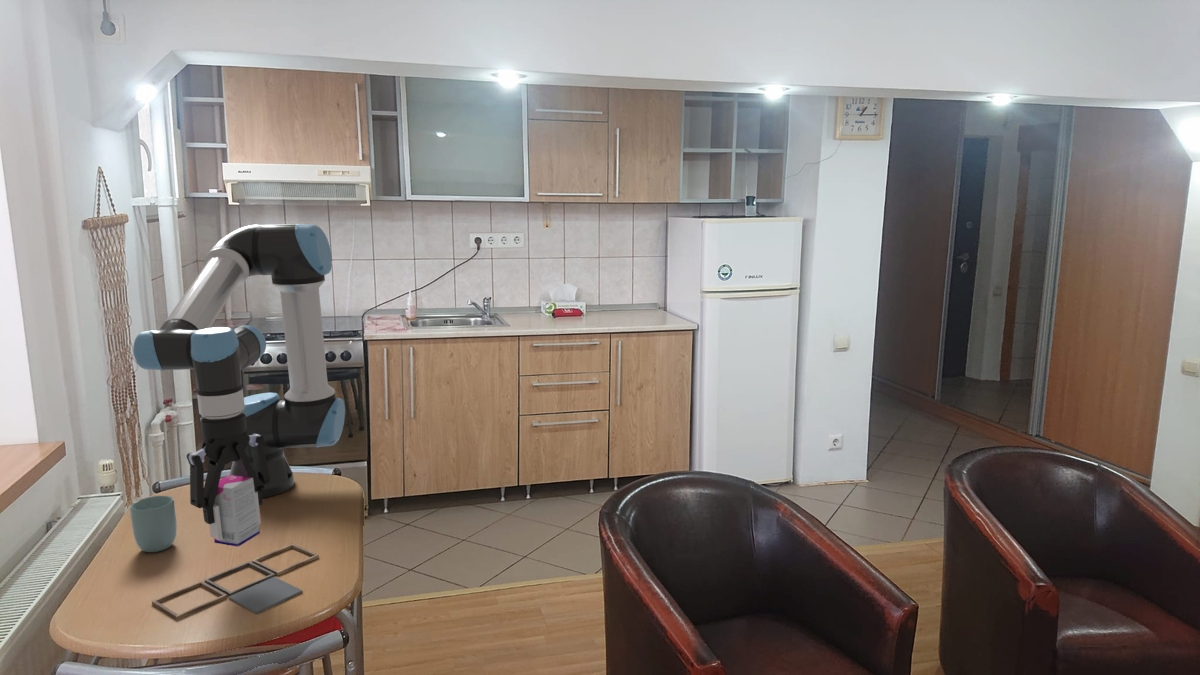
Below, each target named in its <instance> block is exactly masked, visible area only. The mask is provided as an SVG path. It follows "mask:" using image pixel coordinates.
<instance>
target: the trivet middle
mask: <svg viewBox="0 0 1200 675" xmlns="http://www.w3.org/2000/svg"><path fill="white" fill-rule="evenodd" d="M247 567H250V568H252V569H254V570H256V571H259V572H260V573H263V574H264V575H266V576H264V577H262V578H259V579H257V580H255V581H252V582H250V583H248V584H245V585H243V586H241V587H239V588H237V589H234V590H229V589H227V588H225V587H223V586H221V585H219V584H218V583H216V582H214V581H215V580H217V579H220V578H222V577H224V576H227V575H229V574H232V573H235V572H237V571H239V570H241V569H244V568H247ZM272 577H276V575H275V574H274V573H272V572H270V571H268V570H266V569H264V568H262V567H260V566H258V565H256V564H254V563H252V561H247V562H243V563H242V564H239V565H236V566H234V567H231V568H230V569H227V570H224V571H222V572H220V573H216V574H215V575H213V576H210V577H206V578H205V579H203V580H204V581H203V582H205V583H207V584H208V585H210V586H212V587H214V588H216V589H218V590H219V591H221V592H223V593H225V594H227V597H229V596H231V595H234V594H236V593H238V592H240V591H243V590H245V589H247V588H250V587H252V586H254V585H256V584H259V583H261V582H263V581H266V580H268V579H270V578H272Z"/></svg>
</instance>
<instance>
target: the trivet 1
mask: <svg viewBox="0 0 1200 675" xmlns="http://www.w3.org/2000/svg"><path fill="white" fill-rule="evenodd" d="M198 587H203V588H204V589H206V590H208V591H210V592H212V593H213V594H214V595H217V596H218V597H215V598H213V599H210V600H209V601H206V602H204V603H201V604H200V605H197V606H194V607H193V608H190V609H188V610H185V611H183V612H180V613H179V614H178V613H176V612H175V611H173V610H172V609H170V608H169V607H167V606H165V605H164V604H162V602H165V601H167V600H169V599H172V598H174V597H176V596H179V595H182V594H183V593H186V592H189V591H190V590H194V589H196V588H198ZM226 599H229V596H228V595H227V594H225V593H223V592H221V591H219V590H218V589H216V588H214V587H212V586H210V585H208V584H207V583H205V582H204V581H203V580H200V581H198V582H195V583H193V584H191V585H187V586H185V587H183V588H180V589H178V590H176V591H173V592H170V593H168V594H166V595H163V596H162V597H159V598H156V599H154V600H151V605H152V606H154V607H156V608H157V609H159V610H161V611H162V612H164V613H165V614H167V615H169V616H170V617H171V618H173V619H175V620H177V621H178V620H180V619H182V618H184V617H188V616H189V615H192V614H193V613H195V612H199V611H201V610H203V609H205V608H208V607H210V606H212V605H214V604H216V603H218V602H221V601H224V600H226Z"/></svg>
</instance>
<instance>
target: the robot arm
mask: <svg viewBox="0 0 1200 675" xmlns="http://www.w3.org/2000/svg"><path fill="white" fill-rule="evenodd" d="M331 251H332V250H331V246H330V242H329V240H328V237H327V235H326V233H325V232H324V230H323V229H322V228H321V227H320V226H318V225H317V224H316V225H315V224H309V223H283V224H279V223H277V224H251V225H246V226H243V227H240V228H238V229H236V230H233V231H232V232H230V233H229V234H226V235H225V236H224V237H223V238H221V239H219V240H218V241H217V242H216V243H215V244H214V245H213V247H211V248H210V249H209V251H208V252H207V254H206V255H205V257H204V259H203V268H202V269H201V270H200V272H199V273H198V274H197V275H196V277H195V279H194V281H193V282H192V283H191V285H190V286H189V287H188V289H187V290H186V291H185V293H184V294H183V296H182V297H181V299H180V300H179V301H178V303H177V304H176V305H175V307H174V309H173V310H172V311H171V313H170V314H169V316H168V317H167V319H165V321H164V322H163V324H162V325H161V326H160V328H159V329H158V330H155V329H151V330H146V331H142V332H139V334H137V335H136V337H135V340H134V342H133V345H132V346H133V348H132V351H133V352H132V353H133V356H134V359H135V361H136V364H137V365H138V366H139V367H140V368H141V369H144V370H149V371H151V370H152V371H154V370H155V371H156V370H157V371H162V372H163V371H177V370H178V371H179V370H181V371H182V370H193V371H194V372H193V373H194V379H195V385H196V386H195V387H196V396H197V405H198V407H197V408H198V413H199V415H201V417H200V418H199V422H200V430H201V436H202V440H203V442H202V444H201V449H199V450H197V451H195V452H188V453H186V460H187V461H188V464H189V485H190V486H189V493H190V494H189V495H190V497H189V500H190V501H189V502H190V504H191V506H194V507H196V508H198V509H202V513H203V520H204V522H205V523H206V524H208V525H209V530H210V531H209V532H210V537H211V538H213V539H214V538H215V539H217V540H221V539H223V538H222V529H221V521H220V513H219V506H218V505H215V504H214V503H215V498H216V494H217V490H218V485H219V481H220V479H221V475H222V472H223V471H224V469H225V465H228V464H229V463H232V464H231V468H230V472H229V475H234V476H242V477H250V478H253V482H254V490H255V498H256V506H257V514H258V522H259V525H261V524H262V521H261V512H260V506H262V505H263V499H264V498H269V497H274V496H276V495H279V494H281V493H284V492H287V491H288V490H290V489H291V488H292V487H294V485H295V478H294V473H293V471H292V469H291V467H290V465H289V462H288V460H287V457H286V456H285V452H284V448H316V449H317V448H320V447H331V446H334V445H335V444H337V443H338V441H339V440H340V438H341V436H342V433H343V429H344V425H345V416H346V405H345V402H344V400H343V399H342V398H340V397H336V389H335V388H334V387H332V386H331V385H330V384H328V373H327V371H328V370H327V363H326V352H325V351H326V350H325V339H324V330H323V329H324V328H323V320H322V308H321V298H320V297H321V296H320V287H321V286H322V285H323V284H324V283H325V281H326V278H325V276H326V275H328V274H329V273H330V272H331V271H332V268H333V264H332V261H333V255H332V252H331ZM252 276H271V284H272V285H273V286H274V287H276V288H277V289H278V290H279V293H280V301H281V302H280V303H281V312H282V321H283V322H282V324H283V330H284V331H283V333H284V340H285V349H286V350H285V351H286V361H287V369H288V379H289V390H287V392H285V394H284V396H283V398H284V399H280V398H281V397H280V395H279V394H278V393H277V392H262V393H257V394H252V395H248V396H245V397H244V389H243V380H242V371H243V370H245V369H247V368H249V366H252V365H254V364H256V363H257V362H258V361H259V359H261V357H263V355H264V354H265V352H266V349H267V340H266V338H265V335H264V334H263V333H262V332H261V330H260V329H258V328H257V327H255V326H252V325H248V324H247V325H246V324H244V325H239V326H237V325H236V326H234V327H232V328H231V327H228V326H227V327H226V326H215V327H212V326H213V323H214V322H216V319H217V318H218V316H219V314H220V313H221V311H222V310H223V308H224V306H225V305H226V303H227V301H229V299H230V297H231V296H232V294H233V293H234V291H235V289H236V287H237V286H239V285H241V284H243V283H245V281H247V279H248V278H249V277H252ZM205 456H207V457H208V461H207V473H206V477H205V473H204V472H205V469H204V462H205ZM204 477H205V479H204Z"/></svg>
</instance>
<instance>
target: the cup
mask: <svg viewBox="0 0 1200 675" xmlns="http://www.w3.org/2000/svg"><path fill="white" fill-rule="evenodd" d="M129 513H130V514H129V515H130V524H131V528H132V534H133V538H134V541H135V544H136V545H137V547H138V548H139V550H141V551H143V552H146V553H158V552H162V551H164V550H167V549H169V548H170V547H171V546H172V545H173V544H174V543H175V540H176V538H177V534H178V528H177V527H178V525H177V524H178V521H177V513H176V505H175V498H173V497H172V496H170V495H152V496H148V497H144V498H140V499H139V500H136V501H135V502H133V503H132V504H130V506H129Z"/></svg>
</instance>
